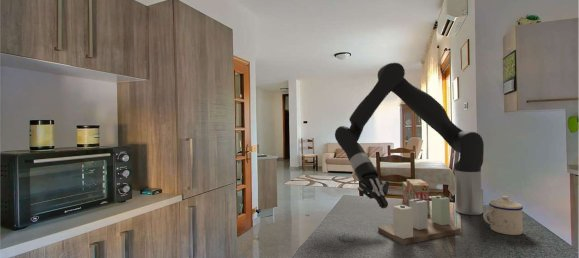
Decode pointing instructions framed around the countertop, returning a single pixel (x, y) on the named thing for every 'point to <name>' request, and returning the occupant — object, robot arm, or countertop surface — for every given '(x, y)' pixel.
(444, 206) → the two dot key
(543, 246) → the countertop surface
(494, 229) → the teacup with lid
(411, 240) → the brown wooden board
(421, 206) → the three dot key
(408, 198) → the stack of blocks
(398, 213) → the one dot key
